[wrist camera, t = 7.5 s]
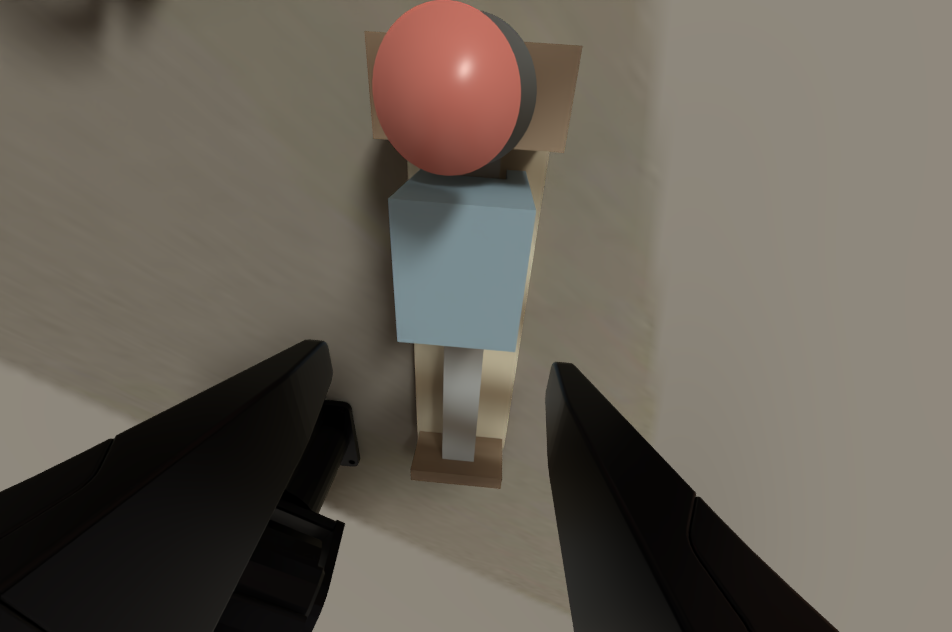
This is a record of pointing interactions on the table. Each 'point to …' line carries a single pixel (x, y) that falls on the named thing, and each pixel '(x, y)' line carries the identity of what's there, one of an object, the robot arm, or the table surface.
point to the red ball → (446, 87)
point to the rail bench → (493, 372)
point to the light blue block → (461, 258)
